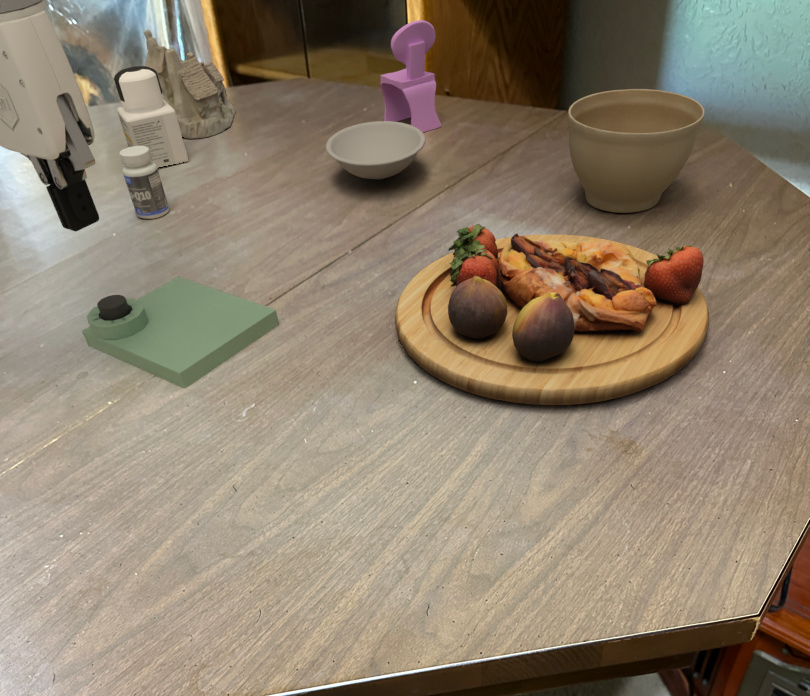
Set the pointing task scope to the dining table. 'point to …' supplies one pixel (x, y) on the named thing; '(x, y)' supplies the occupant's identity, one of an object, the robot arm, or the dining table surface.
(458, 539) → the dining table surface
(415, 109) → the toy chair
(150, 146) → the container
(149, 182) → the pill bottle
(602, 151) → the planter bowl
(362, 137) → the dish
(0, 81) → the robot arm
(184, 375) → the scale
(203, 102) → the ceramic cottage
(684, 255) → the wooden plate
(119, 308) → the button
